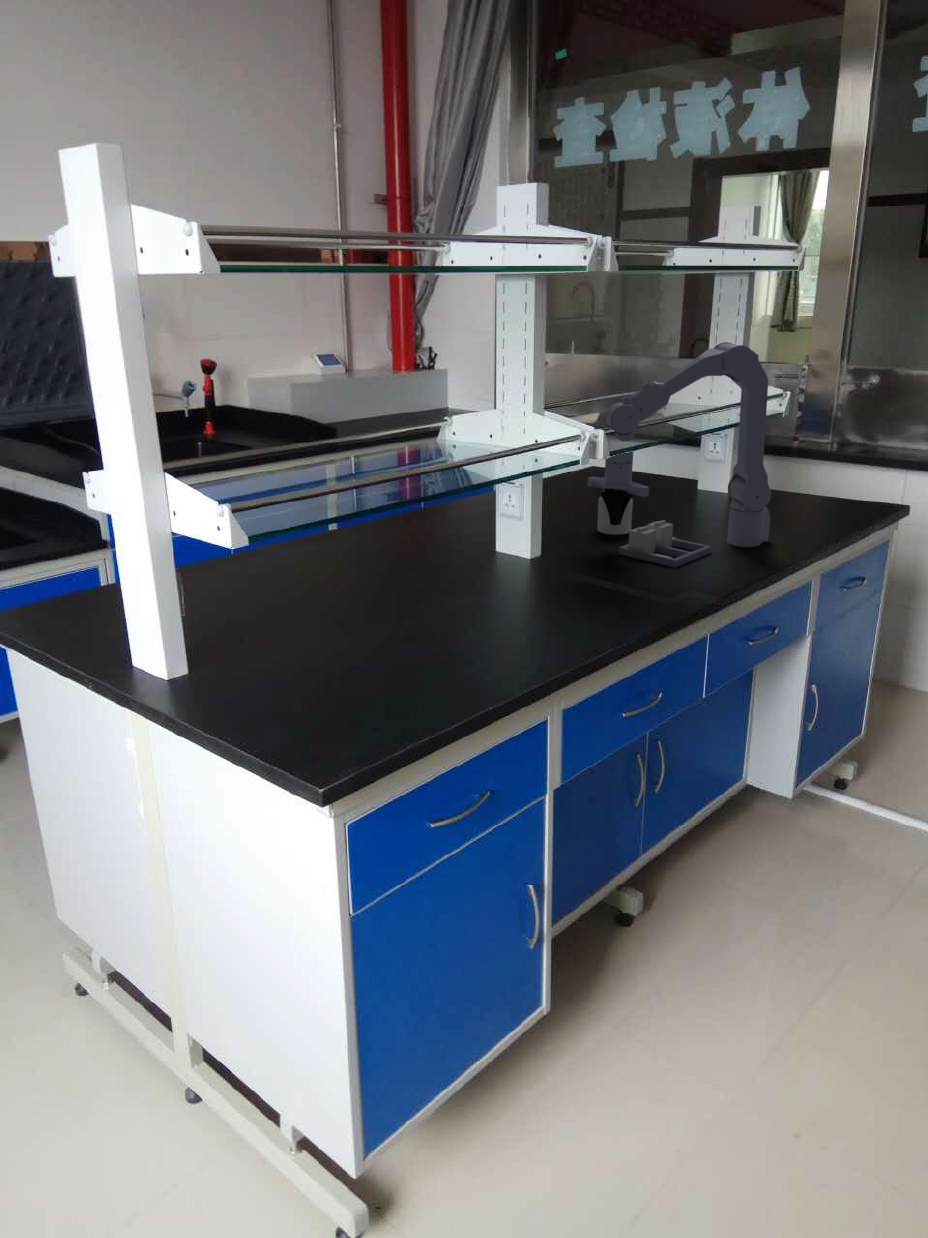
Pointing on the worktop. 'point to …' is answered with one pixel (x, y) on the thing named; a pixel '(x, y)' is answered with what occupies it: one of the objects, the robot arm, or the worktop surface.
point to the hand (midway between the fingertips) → (615, 524)
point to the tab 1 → (642, 539)
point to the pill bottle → (604, 519)
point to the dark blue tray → (669, 553)
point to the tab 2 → (662, 532)
